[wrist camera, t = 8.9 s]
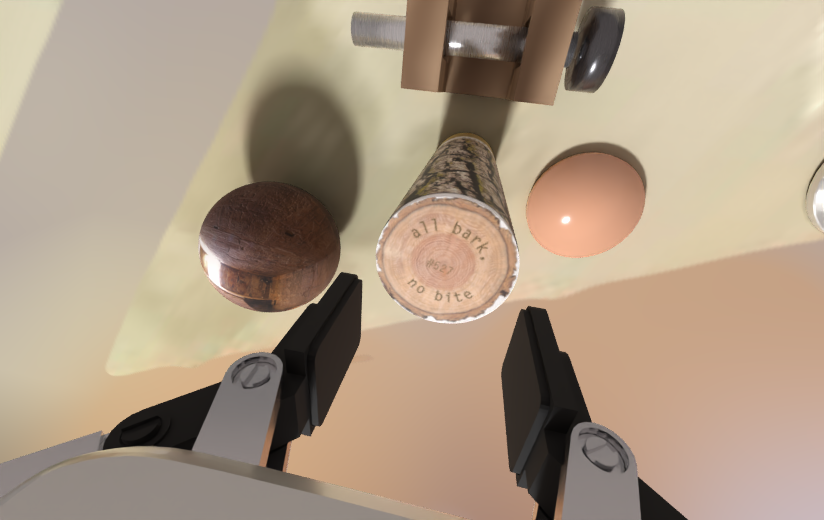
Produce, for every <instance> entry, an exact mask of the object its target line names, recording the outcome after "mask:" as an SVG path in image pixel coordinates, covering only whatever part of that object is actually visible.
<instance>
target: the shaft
mask: <svg viewBox="0 0 824 520" xmlns="http://www.w3.org/2000/svg"><path fill="white" fill-rule="evenodd" d="M624 23H625V13H624V10H623V9H616V8H604V7H591V8H590V9H589V10H588V12H587V13H586V15H585V16H584V18H583V20H582V22H581V24H580V27H579V29H578V32H573V35H572V39H571V42H570V46H569V49H568V53H567V57H566V60H565V64H564V67H566V73H565V89H566V90H569V91H578V92H587V93H594V92H595V91H596V90H597V89H598V88H599V87H600V86H601V85H602V83H603V81H604V80H605V78H606V76H607V74H608V73H609V71H610V68H611V66H612V64H613V62H614V59H615V57H616V54H617V51H618V48H619V45H620V42H621V38H622V34H623V30H624ZM405 25H406V16H396V15H385V14H374V13H363V12H354V13H353V16H352V21H351V34H352V40H353V43H354V45H355V46H361V47H371V48H381V49H391V50H400V51H404V39H405ZM528 29H529V28H528V27H517V26H506V25H495V24H484V23H473V22H462V21H451V20H447V27H446V35H445V44H444V52H443V55H449V56H459V57H468V58H478V59H488V60H498V61H507V62H517V63H521V60H522V56H523V51H524V47H525V42H526V38H527V33H528Z"/></svg>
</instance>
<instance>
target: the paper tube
mask: <svg viewBox="0 0 824 520" xmlns="http://www.w3.org/2000/svg"><path fill="white" fill-rule="evenodd" d="M376 265H377V271H378V274H379V277H380V280H381V282H382V284H383V286H384V288H385V289H386V291H387V292H388V294H389V295H390V296H391V297H392V298H393V299H394V300H395V301H396V302H397V303H398V304H399V305H400V306H401V307H403V308H404V309H405V310H407V311H408V312H410V313H412V314H414V315H416V316H418V317H420V318H423V319H426V320H429V321H433V322H438V323H462V322H468V321H472V320H475V319H478V318H481V317H483V316H485V315H487V314H489V313H490V312H492V311H493V310H495V309H496V308H497V307H499V306H500V305H501V304H502V303H503V302H504V301H505V300H506V298H507V297H508V296H509V294H510V293H511V291H512V290H513V288H514V285H515V283H516V280H517V277H518V272H519V252H518V246H517V242H516V238H515V234H514V230H513V226H512V222H511V219H510V215H509V211H508V207H507V203H506V200H505V196H504V192H503V188H502V184H501V181H500V177H499V173H498V169H497V165H496V162H495V158H494V155H493V152H492V149H491V147H490V146H489V144H488V143H487V142H486V141H485V140H484V139H483V138H481V137H480V136H478V135H475V134H472V133H458V134H455V135H452V136H450V137H449V138H447V139H446V140H445V141H444V142H443V143H442V144H441V145H440V146H439V148H438V149H437V150H436V152H435V153H434V155H433V156H432V157H431V159H430V160H429V162H428V163H427V165H426V166H425V168H424V169H423V171H422V172H421V174H420V175H419V176H418V178H417V179H416V181H415V182H414V184H413V185H412V187H411V188H410V190H409V191H408V192H407V194H406V195H405V197H404V198H403V200H402V201H401V203H400V204H399V206H398V207H397V209H396V210H395V211H394V213H393V214H392V216H391V217H390V219H389V220H388V222H387V223H386V225H385V227H384V229H383V231H382V233H381V235H380V237H379V240H378V244H377V249H376Z"/></svg>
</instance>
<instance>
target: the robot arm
mask: <svg viewBox="0 0 824 520" xmlns="http://www.w3.org/2000/svg"><path fill="white" fill-rule="evenodd" d="M806 210H807V214H808V217H809V219H810V220H811V222H812V224H813V225H814V226H815V227H816V228H817V229H819V230H820V231H821V232H823V233H824V163H823V164H822V166H821V167H820V168H819V170H818V171H817V172H816V174H815V176H814V178H813V180H812V182H811V184H810V186H809V189H808V193H807V196H806ZM361 310H362V280H360V279H358V276H357V275H355V274H349V273H344V272H341V273H340V274H339V276H338V277H337V278H336V280H335V281H334V282H333V284H332V285H331V286H330V288H329V289H328V290H327V292H326V293H325V294H324V296H323V297H322V298H321V300H320V301H319V302H318V304H315V303H312V304H310V305H309V306H308V307H307V308H306V309H305V311H304V312H303V313H302V315H301V316H300V317H299V318H298V320H297V321H296V322H295V323H294V325H293V326H292V327H291V329H290V330H289V331H288V332H287V334H286V335H285V336H284V337H283V339H282V340H281V341H280V343H279V344H278V345H277V346H276V348H275V349H274V350H273V352H272V353H265V352H259V353H252V354H249V355H246V356H244V357H242V358H240V359H238V360H237V361H235V362H234V363H233V364H232V365H231V366H230V367H229V369H228V370H227V372H226V373H225V376H224V378H223V380H222V382H219V383H217V384H214V385H211V386H208V387H206V388H203V389H200V390H197V391H194V392H192V393H188V394H186V395H183V396H180V397H177V398H175V399H172V400H169V401H166V402H163V403H160V404H158V405H155V406H152V407H149V408H146V409H144V410H141V411H139V412H137V413H135V414H132V415H131V416H129V417H128V418H126V419H125V420H123V421H122V422H120V423H119V424H118V425H117V426H116V427H115V428H114V429H113V430H112V431H111V432H110V433H108V434H105V435H104V433H103V431H99V432H96V433H93V434H90V435H87V436H83V437H80V438H77V439H74V440H71V441H68V442H66V443H62V444H59V445H56V446H53V447H50V448H47V449H44V450H41V451H38V452H35V453H32V454H28V455H25V456H22V457H20V458H16V459H13V460H10V461H7V462H4V463H1V464H0V520H470V519H467V518H463V517H459V516H455V515H451V514H448V513H444V512H440V511H436V510H432V509H428V508H424V507H420V506H416V505H412V504H409V503H405V502H401V501H397V500H393V499H389V498H385V497H381V496H377V495H373V494H369V493H365V492H361V491H358V490H354V489H350V488H346V487H342V486H338V485H334V484H330V483H326V482H322V481H318V480H314V479H310V478H306V477H302V476H298V475H294V474H290V473H286V471H287V465H288V460H289V454H290V448H291V443H292V440H294V439H296V438H298V437H300V435H301V434H304V435H307V436H311V434H312V432H313V430H314V428H315V426H321V425H322V423H323V421H324V419H325V417H326V415H327V413H328V411H329V408H330V406H331V404H332V402H333V400H334V398H335V395H336V393H337V391H338V389H339V387H340V385H341V382H342V380H343V378H344V376H345V374H346V371H347V370H348V368H349V365H350V363H351V361H352V359H353V357H354V355H355V352H356V350H357V348H358V346H359V343H360V337H361ZM501 377H502V389H503V399H504V412H505V423H506V435H507V446H508V459H509V468H510V471H511V472H514V473H516V481H517V486H519V487H522V488H527V489H528V493H529V494H530V495H531V496H532V497H533V498H534V500H535V504H534V510H533V515H532V520H688V519H687V518H685V517H684V516H683V515H682V514H681V513H680V512H678V511H677V510H676V509H675V508H674V507H672V506H671V505H670V504H669V503H668V502H667V501H666V500H664V499H663V498H662V497H661V496H660V495H659V494H657V493H656V492H655V491H654V490H653V489H652V488H650V487H649V486H648V485H647V484H646V483H645V482H643V481H642V480H641V479H640V478H639V477H638V474H637V464H636V460H635V457H634V455H633V453H632V451H631V450H630V448H629V447H628V446H627V444H626V443H625V442H624V441H623V440H622V439H621V438H620V437H619V436H618V435H617V434H615V433H614V432H613V431H611V430H609V429H608V428H606V427H604V426H602V425H599V424H596V423H592V422H591V418H590V416H589V413H588V410H587V407H586V404H585V401H584V398H583V395H582V392H581V390H580V387H579V384H578V381H577V378H576V375H575V373H574V369H573V367H572V364H571V361H570V358H569V356H568V354H567V353H566V352H561V351H559V348H558V345H557V342H556V339H555V336H554V333H553V329H552V326H551V323H550V320H549V317H548V314H547V311H546V309H541V308H536V307H531V306H528V307H527V309H526V310H523V309H521V311H520V313H519V316H518V319H517V322H516V326H515V328H514V332H513V335H512V338H511V341H510V344H509V347H508V350H507V353H506V357H505V359H504V362H503V366H502V372H501Z"/></svg>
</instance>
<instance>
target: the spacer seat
mask: <svg viewBox="0 0 824 520" xmlns="http://www.w3.org/2000/svg"><path fill="white" fill-rule="evenodd" d="M644 205H645V190H644V185H643V182H642V180H641V178H640V176H639V175H638V173H637V172H636V170H635V169H634V168H633V167H632V166H630V165H629V164H628V163H626V162H625V161H623V160H621V159H619V158H617V157H615V156H612V155H609V154H605V153H597V152H589V153H581V154H576V155H573V156H570V157H567V158H565V159H563V160H561V161H559V162H557V163H556V164H554V165H553V166H551V167H550V168H549V169H547V170H546V171H545V172H544V173H543V174H542V175H541V176H540V177H539V179H538V180H537V181H536V183H535V184H534V186H533V188H532V190H531V192H530V194H529V197H528V200H527V205H526V218H527V223H528V226H529V228H530V231H531V233H532V235H533V237H534V238H535V239H536V241H537V242H538V243H539V244H540V245H541V246H542V247H544V248H545V249H547V250H548V251H550V252H552V253H554V254H557V255H560V256H564V257H572V258H581V257H589V256H593V255H597V254H600V253H602V252H605V251H607V250H609V249H611V248H613V247H614V246H616V245H617V244H619V243H620V242H622V241H623V240H624V239H625V238H626V237H627V236H628V235H629V234H630V233H631V232H632V231H633V229H634V228H635V226H636V225H637V223H638V221H639V220H640V218H641V215H642V213H643V209H644Z"/></svg>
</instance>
